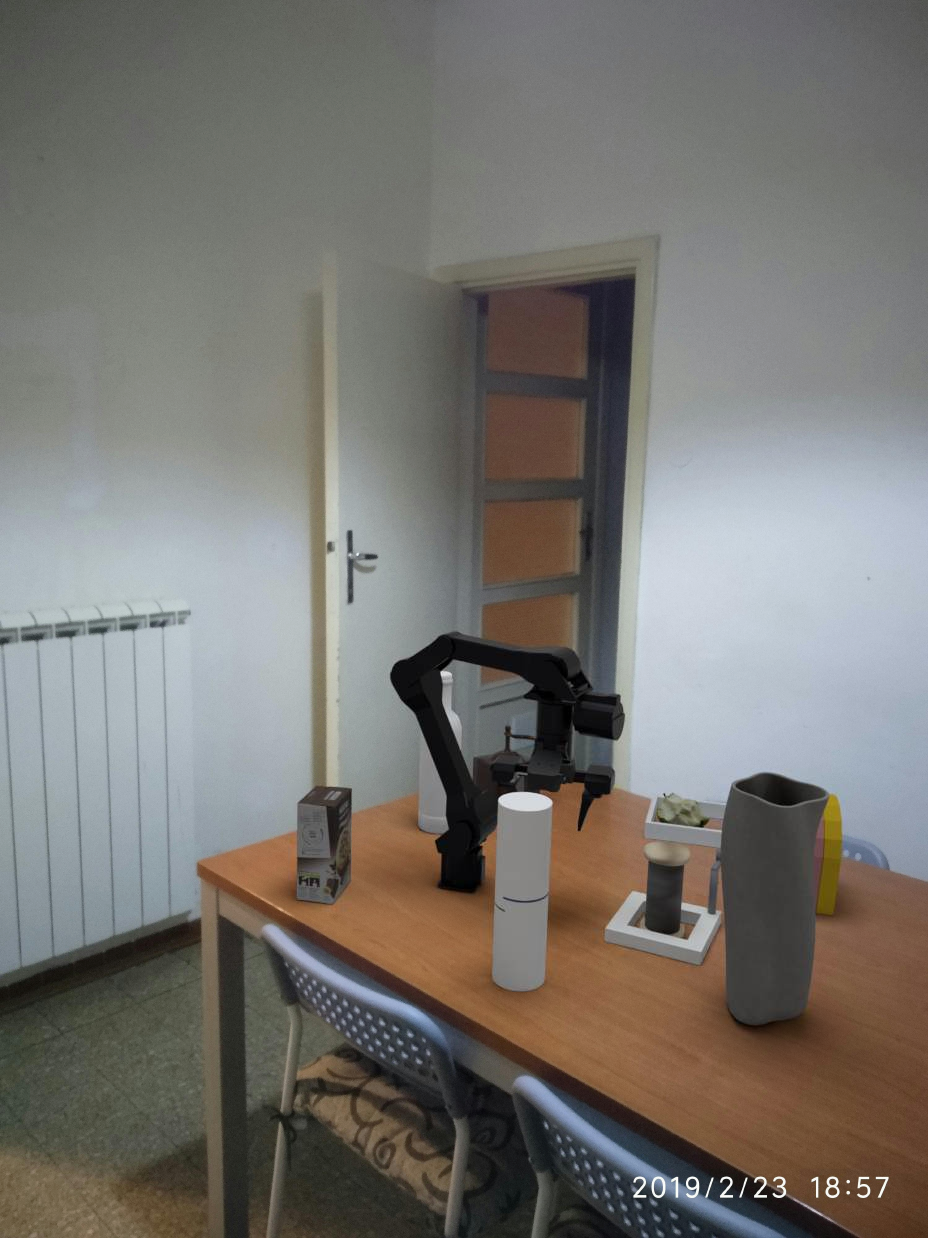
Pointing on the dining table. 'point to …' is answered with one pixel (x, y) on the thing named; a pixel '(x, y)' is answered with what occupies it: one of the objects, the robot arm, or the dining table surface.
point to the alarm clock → (827, 857)
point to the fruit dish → (685, 832)
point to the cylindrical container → (521, 890)
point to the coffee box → (324, 843)
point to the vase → (769, 895)
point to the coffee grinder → (484, 763)
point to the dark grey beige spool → (664, 888)
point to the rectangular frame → (666, 945)
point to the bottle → (435, 772)
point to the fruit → (681, 812)
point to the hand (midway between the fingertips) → (550, 826)
